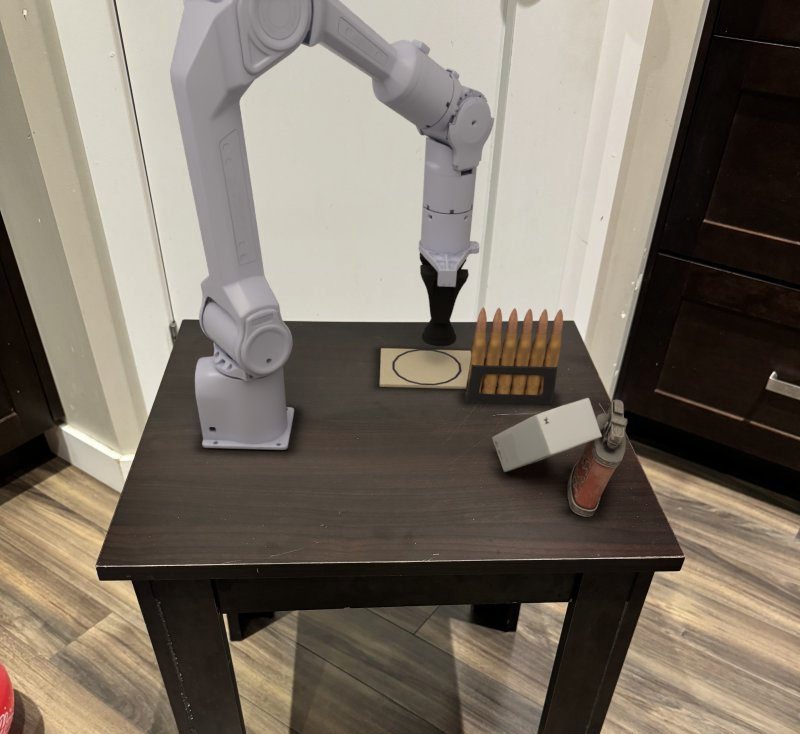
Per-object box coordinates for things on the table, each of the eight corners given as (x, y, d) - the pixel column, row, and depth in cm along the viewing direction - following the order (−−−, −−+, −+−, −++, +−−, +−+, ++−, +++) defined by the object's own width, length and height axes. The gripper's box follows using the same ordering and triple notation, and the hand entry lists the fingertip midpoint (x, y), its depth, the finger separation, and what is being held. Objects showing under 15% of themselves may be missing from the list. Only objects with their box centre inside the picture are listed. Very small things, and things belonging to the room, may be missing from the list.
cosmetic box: (503, 474, 84) (549, 456, 72) (490, 437, 84) (534, 413, 72) (551, 457, 85) (604, 436, 74) (538, 420, 85) (589, 395, 74)
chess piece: (414, 335, 98) (418, 258, 91) (442, 327, 100) (448, 251, 93) (434, 350, 95) (440, 271, 88) (463, 341, 97) (470, 264, 90)
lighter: (597, 520, 79) (637, 445, 72) (565, 511, 79) (602, 435, 72) (598, 472, 84) (635, 398, 77) (569, 463, 84) (603, 389, 77)
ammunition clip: (550, 395, 96) (567, 306, 88) (552, 404, 94) (570, 313, 86) (464, 394, 95) (474, 303, 87) (466, 402, 94) (475, 311, 86)
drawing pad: (379, 386, 96) (379, 383, 96) (380, 350, 103) (381, 347, 102) (475, 389, 96) (475, 386, 96) (470, 353, 103) (470, 350, 103)
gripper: (488, 231, 81) (476, 346, 90) (478, 184, 92) (467, 291, 101) (422, 229, 81) (416, 345, 90) (419, 182, 92) (414, 290, 101)
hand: (439, 316), depth 96 cm, fingers closed on chess piece, 2 cm apart
